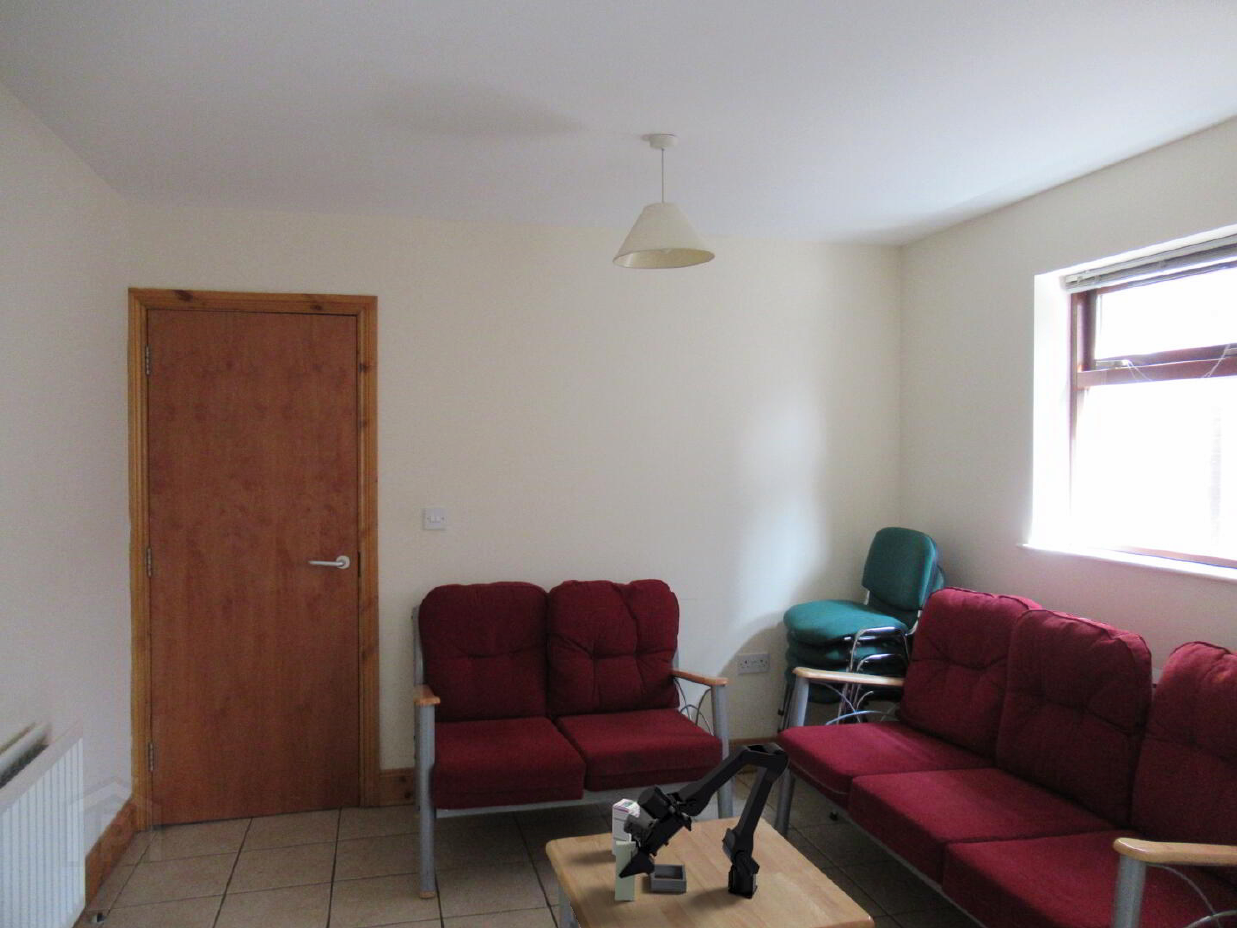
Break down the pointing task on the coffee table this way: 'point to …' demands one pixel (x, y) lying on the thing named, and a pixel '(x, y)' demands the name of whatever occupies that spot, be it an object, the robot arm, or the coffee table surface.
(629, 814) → the robot arm
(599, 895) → the coffee table surface
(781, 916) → the coffee table surface
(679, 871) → the square socket
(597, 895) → the coffee table surface
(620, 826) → the syrup box
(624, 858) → the sage block
